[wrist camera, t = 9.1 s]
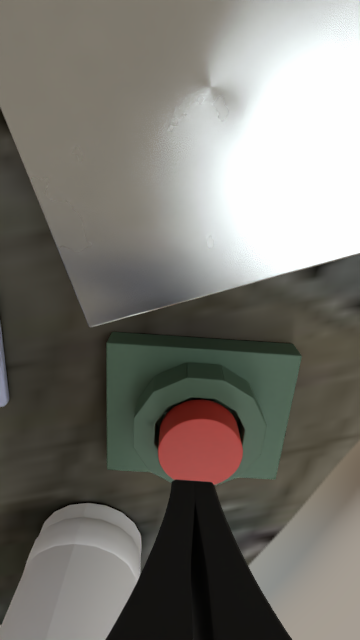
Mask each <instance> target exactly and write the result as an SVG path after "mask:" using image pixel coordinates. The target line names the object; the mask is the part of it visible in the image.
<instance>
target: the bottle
mask: <svg viewBox="0 0 360 640" xmlns="http://www.w3.org/2000/svg"><path fill="white" fill-rule="evenodd" d="M140 556H141V534H140V533H139V531H138V529H137V527H136V525H135V523H134V522H132V521H131V520H130V519H129V518H128V517H127V516H125V515H124V514H123V513H122V512H120V511H118V510H115V509H113V508H111V507H108V506H106V505H100V504H93V503H82V504H74V505H69V506H66V507H64V508H62V509H60V510H58V511H55V512H54V513H53V514H52V515H51V516H50V517H49V518H48V519H47V520H46V521H45V522H44V524H43V527H42V529H41V532H40V534H39V536H38V537H37V538H36V540H35V542H34V545H33V547H32V549H31V552H30V554H29V557H28V560H27V563H26V566H25V569H24V572H23V575H22V577H21V580H20V582H19V584H18V587H17V589H16V592H15V594H14V596H13V599H12V601H11V604H10V606H9V608H8V611H7V613H6V616H5V618H4V620H3V623H2V625H1V628H0V640H105V639H106V638H107V636H108V634H109V633H110V631H111V629H112V628H113V626H114V624H115V622H116V621H117V619H118V617H119V615H120V613H121V612H122V610H123V608H124V606H125V604H126V603H127V601H128V599H129V597H130V595H131V593H132V591H133V589H134V587H135V585H136V583H137V581H138V579H139V577H140V567H141V564H140Z"/></svg>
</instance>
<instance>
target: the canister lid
mask: <svg viewBox="0 0 360 640" xmlns="http://www.w3.org/2000/svg"><path fill="white" fill-rule="evenodd" d="M0 108H1V111H2V113H3V115H4V118H5V120H6V123H7V125H8V128H9V130H10V133H11V135H12V138H13V140H14V143H15V145H16V148H17V150H18V153H19V155H20V157H21V160H22V162H23V165H24V167H25V170H26V172H27V175H28V177H29V180H30V182H31V185H32V187H33V190H34V192H35V194H36V197H37V199H38V202H39V204H40V207H41V209H42V212H43V214H44V217H45V219H46V222H47V224H48V227H49V229H50V232H51V234H52V236H53V239H54V241H55V244H56V246H57V249H58V251H59V254H60V256H61V259H62V261H63V264H64V266H65V269H66V271H67V274H68V276H69V278H70V281H71V283H72V286H73V288H74V291H75V293H76V296H77V298H78V301H79V303H80V306H81V308H82V311H83V313H84V315H85V318H86V320H87V323H88V325H89V327H95V326H98V325H102V324H106V323H109V322H113V321H117V320H120V319H124V318H128V317H131V316H135V315H139V314H142V313H146V312H150V311H153V310H157V309H161V308H164V307H168V306H172V305H175V304H179V303H183V302H186V301H190V300H194V299H197V298H201V297H205V296H208V295H212V294H216V293H219V292H223V291H227V290H230V289H234V288H238V287H241V286H245V285H248V284H252V283H256V282H259V281H263V280H267V279H270V278H274V277H278V276H281V275H285V274H289V273H292V272H296V271H300V270H303V269H307V268H311V267H314V266H318V265H322V264H325V263H329V262H333V261H336V260H340V259H344V258H347V257H351V256H355V255H358V254H360V0H0Z"/></svg>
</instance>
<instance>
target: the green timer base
mask: <svg viewBox="0 0 360 640" xmlns="http://www.w3.org/2000/svg"><path fill="white" fill-rule="evenodd" d="M301 357H302V356H301V354H300V353H299V351H298V350H297V349H296V347H295V346H294V345H293V344H288V343H273V342H258V341H243V340H228V339H213V338H198V337H183V336H168V335H153V334H138V333H123V332H112V333H111V335H110V337H109V339H108V341H107V343H106V375H107V469H108V470H123V471H140V472H152V473H154V474H155V475H157V476H159V477H161V478H163V479H165V480H167V481H169V482H171V483H172V481H174V479H172V478H171V477H170V476H168V475H167V474H166V472H165V471H164V470H163V468H162V466H161V465H160V462H159V458H158V445H159V434H160V426H161V423H162V421H163V419H164V417H165V416H166V414H167V413H168V412H169V411H170V410H171V409H172V408H174V407H175V406H177V405H179V404H181V403H183V402H186V401H190V400H209V401H213V402H216V403H218V404H220V405H222V406H223V407H225V408H226V409H227V410H228V411H230V413H231V414H232V415H233V416H234V418H235V420H236V422H237V426H238V430H239V435H240V439H241V443H242V447H243V456H242V460H241V463H240V465H239V467H238V469H237V470H236V471H235V473H234V474H233V475H231V476H230V477H229V478H228V479H226V480H224V481H223V482H220V483H218V484H221V483H224V482H227V481H229V480H232V479H235V478H238V477H242V478H259V479H276V474H277V470H278V465H279V460H280V456H281V451H282V446H283V441H284V437H285V432H286V427H287V423H288V418H289V413H290V409H291V404H292V399H293V395H294V390H295V385H296V381H297V376H298V371H299V367H300V362H301ZM218 484H215V485H214V486H216V485H218Z"/></svg>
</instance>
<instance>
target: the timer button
mask: <svg viewBox="0 0 360 640" xmlns="http://www.w3.org/2000/svg"><path fill="white" fill-rule="evenodd" d="M242 456H243V447H242V443H241V439H240V435H239V430H238V426H237V422H236V420H235V418H234V416H233V415H232V414H231V413H230V411H228V410H227V409H226V408H225V407H223V406H222V405H220V404H218V403H216V402H213V401H209V400H190V401H186V402H183V403H181V404H179V405H177V406H175V407H174V408H172V409H171V410H170V411H169V412H168V413H167V414H166V416H165V417H164V419H163V421H162V423H161V426H160V434H159V445H158V458H159V462H160V465H161V466H162V468H163V470H164V471H165V472H166V474H167V475H168V476H170V477H171V478H172V479H174V480H175V479H178V480H191V481H205V482H212V483H213V484H214V485H215V484H218V483H220V482H223V481H224V480H226V479H228V478H229V477H230V476H231V475H233V474H234V473H235V471H236V470H237V469H238V467H239V465H240V463H241V460H242Z"/></svg>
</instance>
